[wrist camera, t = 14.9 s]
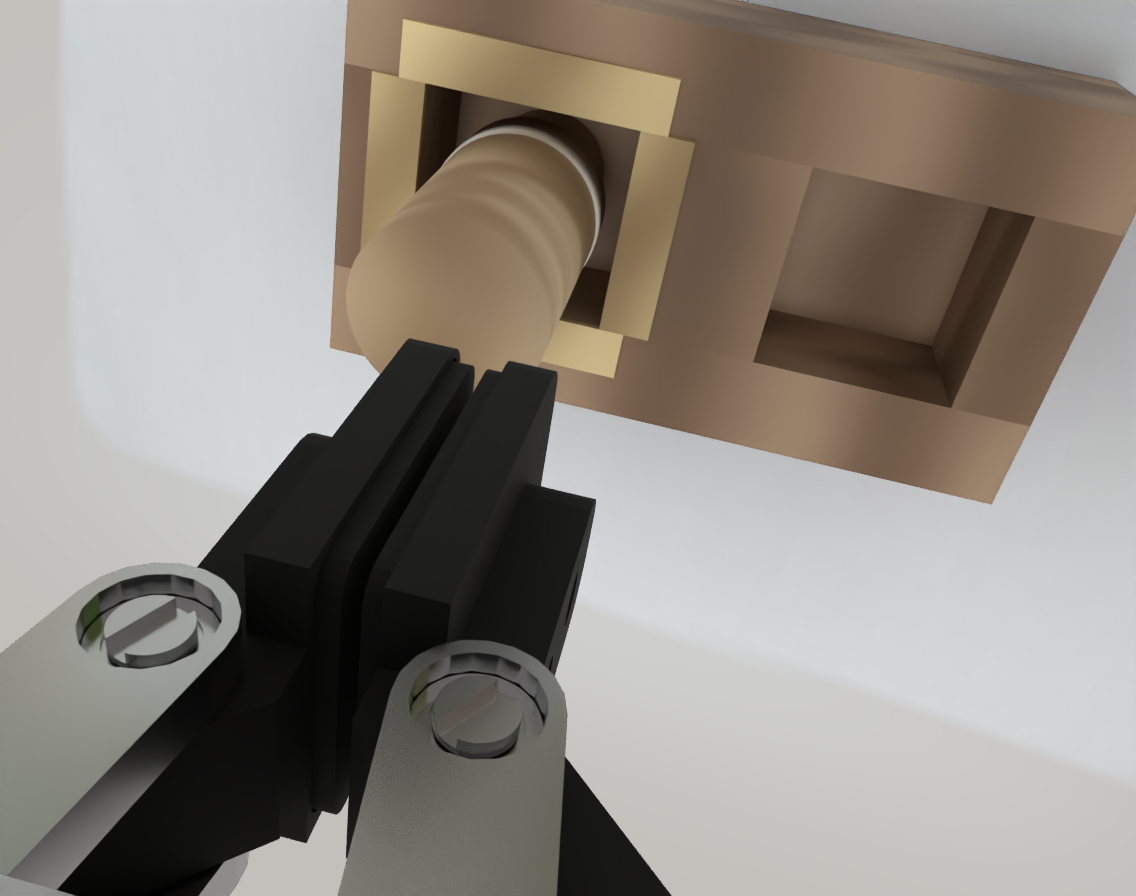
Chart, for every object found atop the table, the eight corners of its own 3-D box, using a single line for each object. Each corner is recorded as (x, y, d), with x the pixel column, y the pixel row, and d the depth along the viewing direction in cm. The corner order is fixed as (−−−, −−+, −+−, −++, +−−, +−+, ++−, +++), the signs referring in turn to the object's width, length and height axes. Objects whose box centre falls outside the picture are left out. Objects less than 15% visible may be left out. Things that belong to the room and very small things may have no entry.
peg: (634, 105, 29) (564, 237, 20) (609, 251, 32) (536, 428, 22) (483, 76, 30) (346, 193, 20) (469, 222, 32) (341, 386, 23)
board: (1115, 82, 28) (1181, 129, 23) (963, 419, 34) (992, 508, 29) (411, -70, 29) (347, -51, 24) (382, 284, 35) (327, 350, 30)
